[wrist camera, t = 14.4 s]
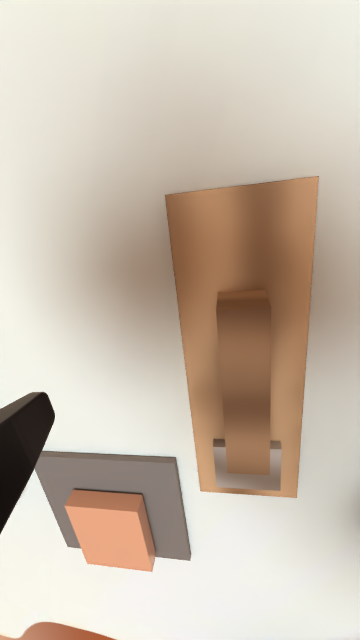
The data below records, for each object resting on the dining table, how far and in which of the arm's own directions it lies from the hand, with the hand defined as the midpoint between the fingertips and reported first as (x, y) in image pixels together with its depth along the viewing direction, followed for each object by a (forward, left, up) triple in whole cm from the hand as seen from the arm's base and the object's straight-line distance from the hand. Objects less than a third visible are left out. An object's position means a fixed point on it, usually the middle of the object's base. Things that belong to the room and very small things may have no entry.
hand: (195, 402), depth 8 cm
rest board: (-2, +7, -12) cm, 13 cm away
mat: (+11, +23, -12) cm, 28 cm away
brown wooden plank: (-2, +9, -11) cm, 14 cm away
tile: (+11, +20, -10) cm, 25 cm away
